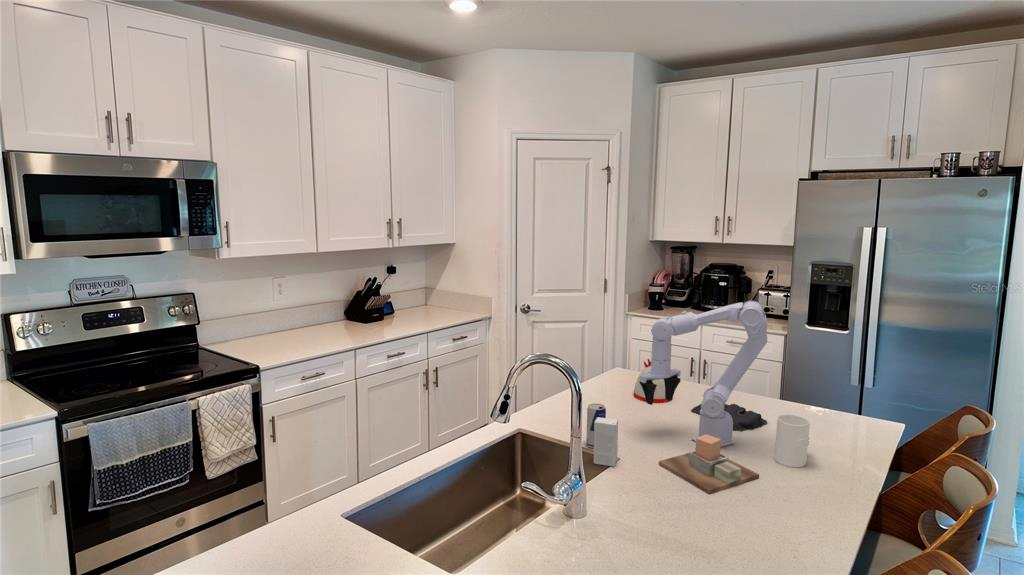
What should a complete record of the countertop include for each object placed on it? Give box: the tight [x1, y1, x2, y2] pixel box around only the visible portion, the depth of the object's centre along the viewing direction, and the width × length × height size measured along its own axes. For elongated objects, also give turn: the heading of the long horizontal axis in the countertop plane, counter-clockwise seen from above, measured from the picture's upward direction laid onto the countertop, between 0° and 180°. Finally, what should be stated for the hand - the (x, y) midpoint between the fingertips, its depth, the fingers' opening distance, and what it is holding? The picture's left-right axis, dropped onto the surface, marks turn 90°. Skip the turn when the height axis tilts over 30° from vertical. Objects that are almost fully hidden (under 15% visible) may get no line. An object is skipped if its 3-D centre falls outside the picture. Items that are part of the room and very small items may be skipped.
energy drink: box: [586, 403, 607, 450], centre depth 170 cm, size 5×5×12 cm
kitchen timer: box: [633, 358, 671, 404], centre depth 212 cm, size 14×14×15 cm
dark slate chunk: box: [690, 403, 768, 433], centre depth 193 cm, size 15×22×5 cm
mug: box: [774, 414, 810, 468], centre depth 162 cm, size 8×12×12 cm
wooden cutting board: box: [658, 450, 760, 495], centre depth 155 cm, size 18×18×5 cm
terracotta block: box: [695, 434, 722, 462], centre depth 155 cm, size 4×4×5 cm
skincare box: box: [593, 417, 619, 467], centre depth 160 cm, size 6×4×12 cm
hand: (659, 401), depth 178 cm, fingers open, 7 cm apart
